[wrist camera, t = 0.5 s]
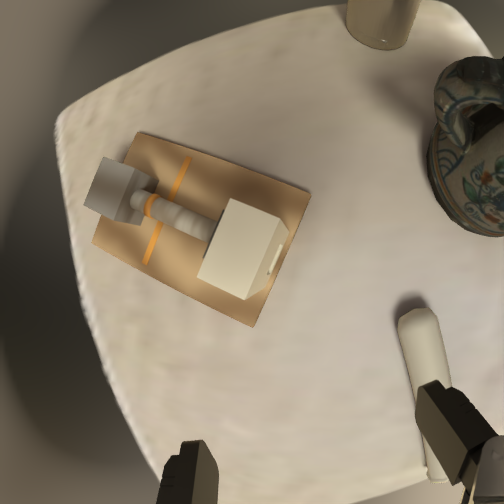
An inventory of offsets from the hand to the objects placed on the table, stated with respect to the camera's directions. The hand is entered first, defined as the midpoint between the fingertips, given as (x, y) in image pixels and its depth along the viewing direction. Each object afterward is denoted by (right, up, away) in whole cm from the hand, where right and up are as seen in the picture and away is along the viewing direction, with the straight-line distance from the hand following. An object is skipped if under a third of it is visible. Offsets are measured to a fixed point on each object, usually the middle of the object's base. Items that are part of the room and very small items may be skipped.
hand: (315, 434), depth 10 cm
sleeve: (-1, +6, +24) cm, 25 cm away
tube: (+20, -11, +22) cm, 32 cm away
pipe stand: (-10, +10, +28) cm, 31 cm away
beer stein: (+25, +16, +22) cm, 37 cm away
